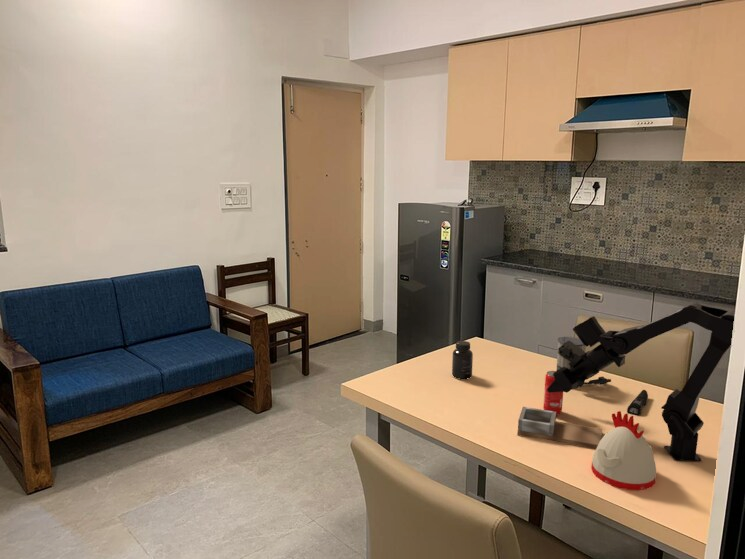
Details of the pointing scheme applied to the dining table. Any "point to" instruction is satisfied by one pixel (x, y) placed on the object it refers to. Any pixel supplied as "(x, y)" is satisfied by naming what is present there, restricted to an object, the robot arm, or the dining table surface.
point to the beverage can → (552, 396)
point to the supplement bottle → (462, 360)
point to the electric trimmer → (638, 403)
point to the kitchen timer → (624, 457)
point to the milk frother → (565, 363)
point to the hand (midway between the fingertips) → (555, 386)
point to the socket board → (556, 429)
